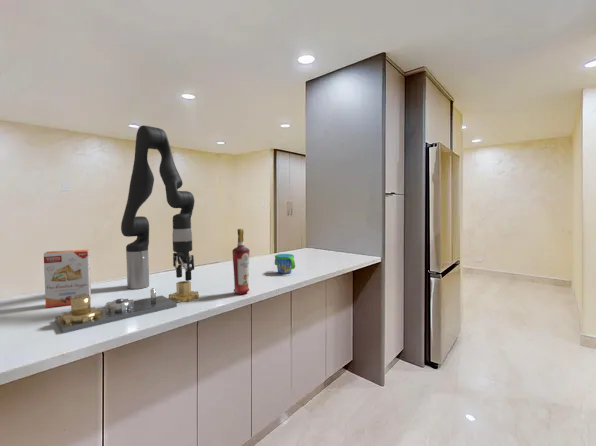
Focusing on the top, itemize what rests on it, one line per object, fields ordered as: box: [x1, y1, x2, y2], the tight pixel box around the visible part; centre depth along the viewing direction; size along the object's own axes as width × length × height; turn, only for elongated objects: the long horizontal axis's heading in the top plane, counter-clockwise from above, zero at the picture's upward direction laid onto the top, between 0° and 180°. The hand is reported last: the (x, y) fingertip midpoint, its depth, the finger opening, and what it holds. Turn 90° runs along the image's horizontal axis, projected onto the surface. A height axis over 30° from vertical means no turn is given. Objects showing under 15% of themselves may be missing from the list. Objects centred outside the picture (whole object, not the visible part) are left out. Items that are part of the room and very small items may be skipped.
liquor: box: [232, 228, 250, 295], centre depth 137 cm, size 7×7×28 cm
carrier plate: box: [54, 287, 178, 334], centre depth 112 cm, size 14×35×8 cm, turn 135°
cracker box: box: [43, 249, 92, 309], centre depth 123 cm, size 14×6×21 cm, turn 117°
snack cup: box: [274, 253, 296, 275], centre depth 178 cm, size 16×10×10 cm
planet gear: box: [168, 280, 200, 303], centre depth 131 cm, size 12×12×6 cm
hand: (183, 278), depth 130 cm, fingers open, 8 cm apart
